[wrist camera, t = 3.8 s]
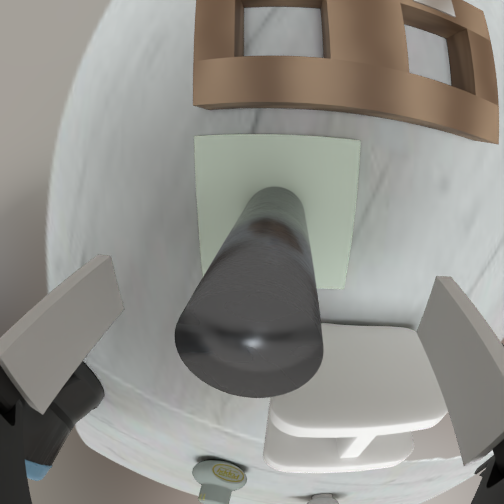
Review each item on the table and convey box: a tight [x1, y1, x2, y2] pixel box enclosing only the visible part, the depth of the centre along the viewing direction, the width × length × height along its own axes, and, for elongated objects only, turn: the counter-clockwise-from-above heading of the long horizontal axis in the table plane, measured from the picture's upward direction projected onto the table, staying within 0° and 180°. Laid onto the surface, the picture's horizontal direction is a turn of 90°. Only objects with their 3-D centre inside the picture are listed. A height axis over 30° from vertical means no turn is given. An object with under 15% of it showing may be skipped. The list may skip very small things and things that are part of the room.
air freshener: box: [192, 460, 247, 504], centre depth 38 cm, size 11×8×10 cm
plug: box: [175, 187, 324, 398], centre depth 14 cm, size 4×4×14 cm
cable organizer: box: [263, 323, 448, 473], centre depth 21 cm, size 15×11×12 cm
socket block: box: [193, 0, 499, 144], centre depth 13 cm, size 22×12×4 cm, turn 90°
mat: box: [194, 134, 361, 289], centre depth 21 cm, size 12×12×1 cm
